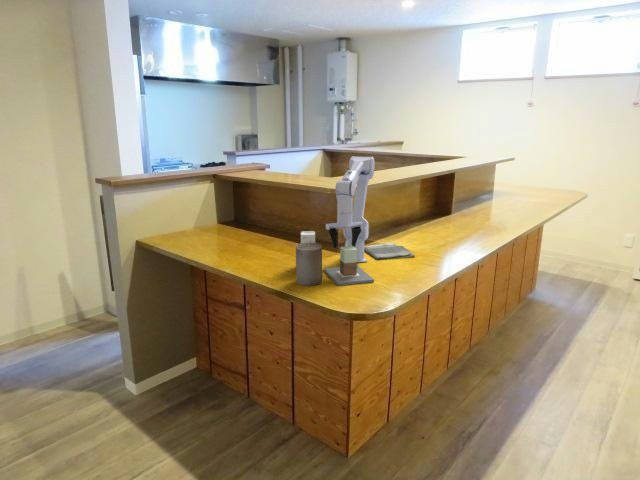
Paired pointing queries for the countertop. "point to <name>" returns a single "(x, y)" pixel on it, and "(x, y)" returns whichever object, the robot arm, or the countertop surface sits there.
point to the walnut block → (348, 268)
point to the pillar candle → (309, 264)
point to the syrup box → (307, 237)
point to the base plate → (347, 280)
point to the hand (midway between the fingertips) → (344, 246)
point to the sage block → (348, 254)
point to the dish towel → (388, 251)
